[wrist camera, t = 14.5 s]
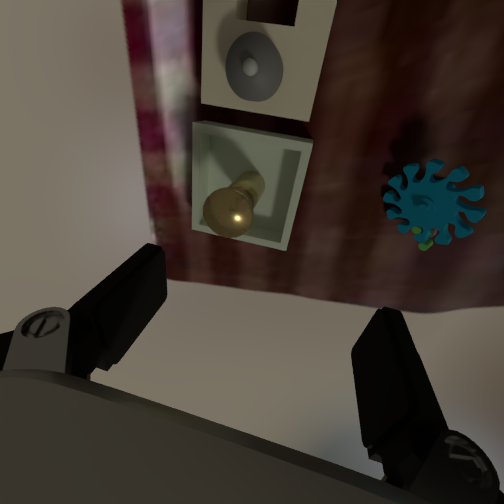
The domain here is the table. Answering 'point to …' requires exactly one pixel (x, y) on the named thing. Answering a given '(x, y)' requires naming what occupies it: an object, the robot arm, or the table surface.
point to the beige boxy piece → (263, 58)
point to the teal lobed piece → (433, 203)
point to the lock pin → (234, 205)
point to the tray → (250, 159)
